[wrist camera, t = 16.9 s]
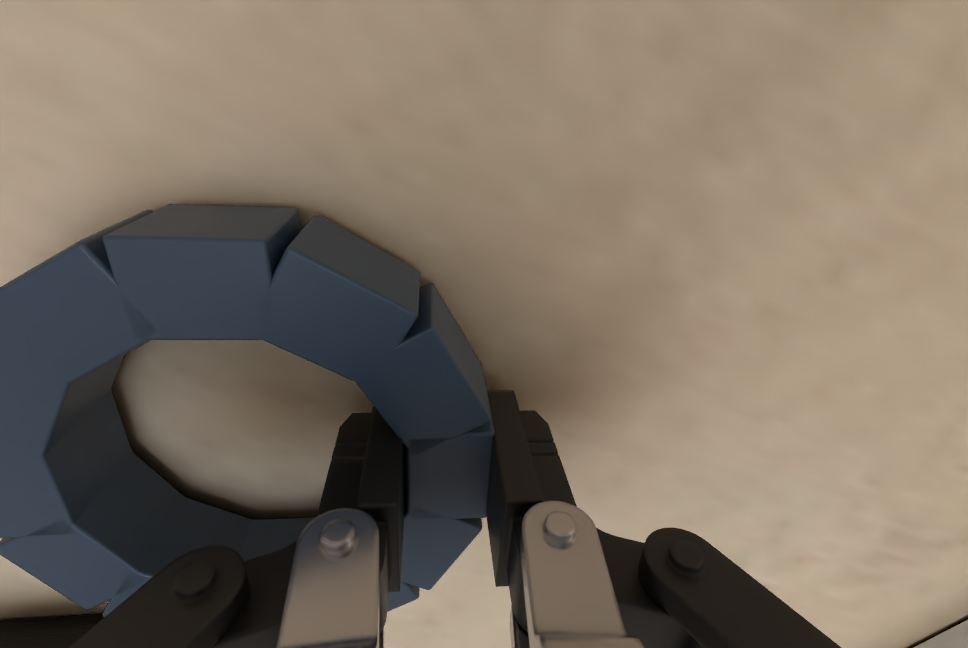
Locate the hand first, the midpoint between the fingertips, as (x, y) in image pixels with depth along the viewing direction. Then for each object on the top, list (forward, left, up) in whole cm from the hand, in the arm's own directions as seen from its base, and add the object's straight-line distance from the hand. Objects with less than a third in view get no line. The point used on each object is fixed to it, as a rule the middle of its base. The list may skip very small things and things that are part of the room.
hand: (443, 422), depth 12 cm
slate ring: (0, -4, 0) cm, 4 cm away
